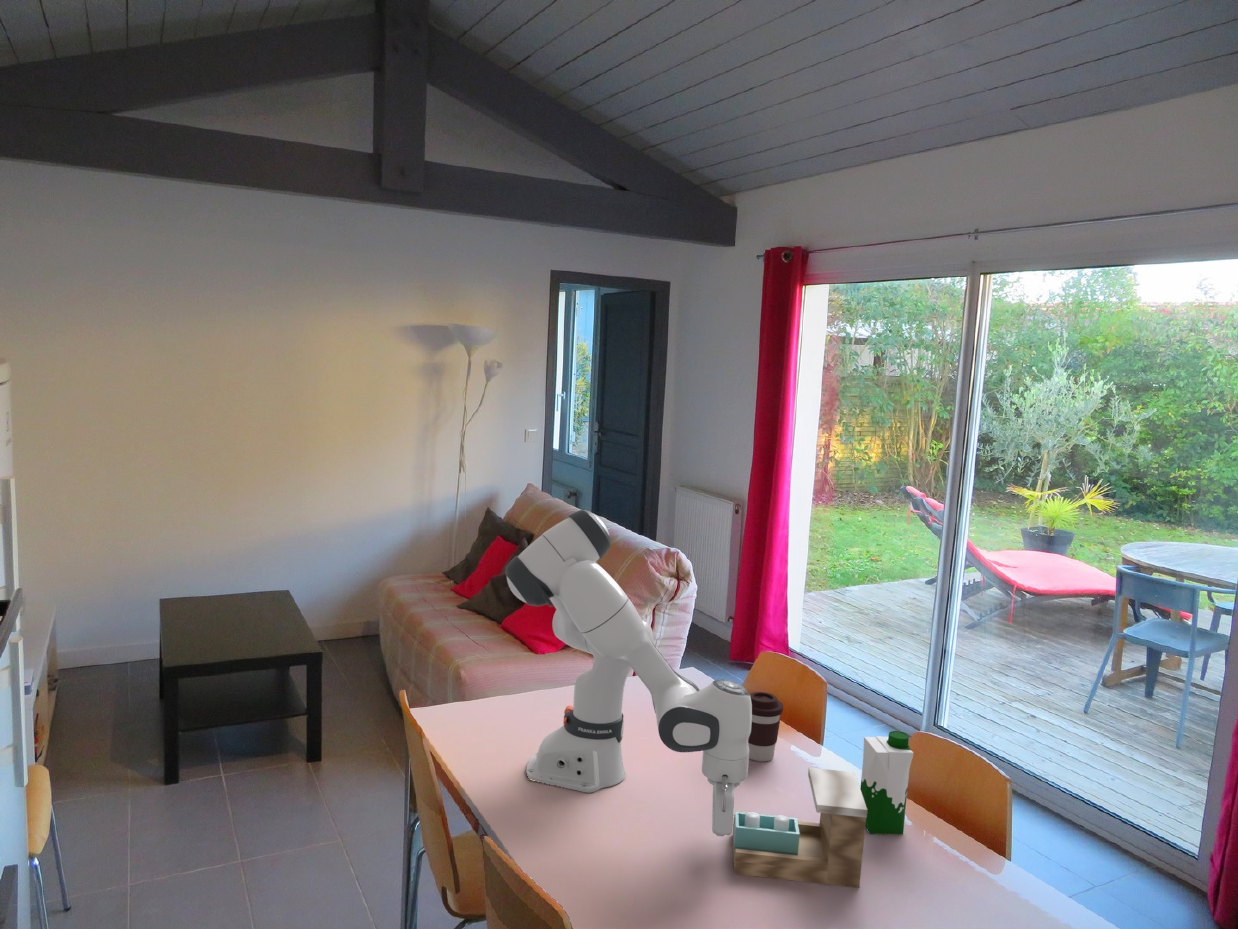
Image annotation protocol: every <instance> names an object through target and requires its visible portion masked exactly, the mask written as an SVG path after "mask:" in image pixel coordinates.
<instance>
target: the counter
mask: <svg viewBox="0 0 1238 929" xmlns="http://www.w3.org/2000/svg"><path fill="white" fill-rule="evenodd" d="M807 770H808V772H807V773H808V774H807V777H808V781H809V785H810V788H811V794H812V798H813V802H814V804H813V805H814V808H815V813H818V814H820V815H819V822H812V821H811V822H809V821H799V820H797V821H798V827H799V833H800V836H799V848H798V855H789V854H780V853H771V852H761V851H752V850H743V849H734V822H735V813H733V827H732V852H733V854H732V855H733V874H735V875H742V876H749V877H750V876H752V877H758V878H760V877H761V878H768V879H769V878H770V879H778V880H786V881H796V882H804V883H805V882H806V883H814V884H823V885H831V886H832V885H833V886H839V887H840V886H841V887H850V888H858V889H859V888H860V885H861V877H862V876H861V875H862V874H861V873H862V863H863V853H864V844H865V834H866V827H865V824H866V818H867V807H866V804H865V801H864V798H863V795H862V792H861V789H860V788H861V785H860V783H859V782H858V778H857V775H856V772H855V771H847V770H845V771H844V770H837V769H835V770H834V769H828V768H827V769H826V768H815V767H808V769H807Z"/></svg>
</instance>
